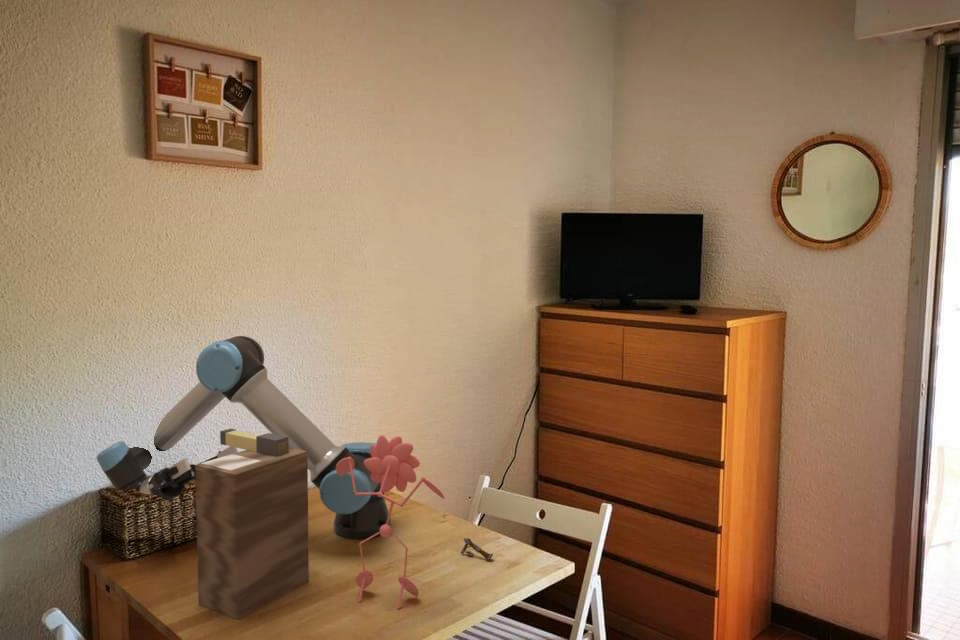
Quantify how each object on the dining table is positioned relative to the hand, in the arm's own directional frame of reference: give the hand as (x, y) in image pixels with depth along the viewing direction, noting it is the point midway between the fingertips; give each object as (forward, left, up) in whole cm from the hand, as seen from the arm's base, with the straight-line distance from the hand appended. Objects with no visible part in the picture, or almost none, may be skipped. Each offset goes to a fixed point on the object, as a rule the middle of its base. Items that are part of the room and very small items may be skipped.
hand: (212, 456), depth 171 cm
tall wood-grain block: (-10, +17, -26) cm, 33 cm away
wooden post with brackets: (-61, +10, -26) cm, 68 cm away
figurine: (-39, +23, -26) cm, 52 cm away
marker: (-10, +10, +4) cm, 14 cm away
